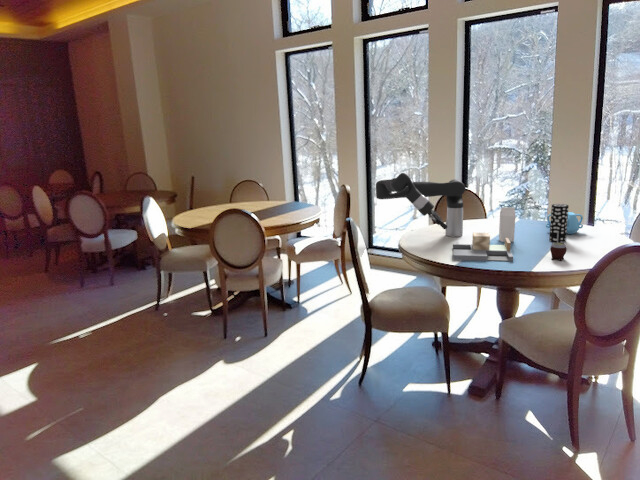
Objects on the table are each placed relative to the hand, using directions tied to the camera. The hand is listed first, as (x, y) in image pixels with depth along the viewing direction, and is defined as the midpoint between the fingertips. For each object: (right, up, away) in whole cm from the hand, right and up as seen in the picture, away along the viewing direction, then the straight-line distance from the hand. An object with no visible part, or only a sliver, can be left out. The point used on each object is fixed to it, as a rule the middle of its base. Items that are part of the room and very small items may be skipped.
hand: (446, 228), depth 261 cm
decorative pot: (+78, -2, +33) cm, 85 cm away
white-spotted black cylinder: (+66, -7, +15) cm, 68 cm away
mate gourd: (+50, -16, -19) cm, 56 cm away
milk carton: (+39, -7, +21) cm, 45 cm away
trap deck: (+17, -14, -5) cm, 22 cm away
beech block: (+18, -10, -1) cm, 21 cm away
